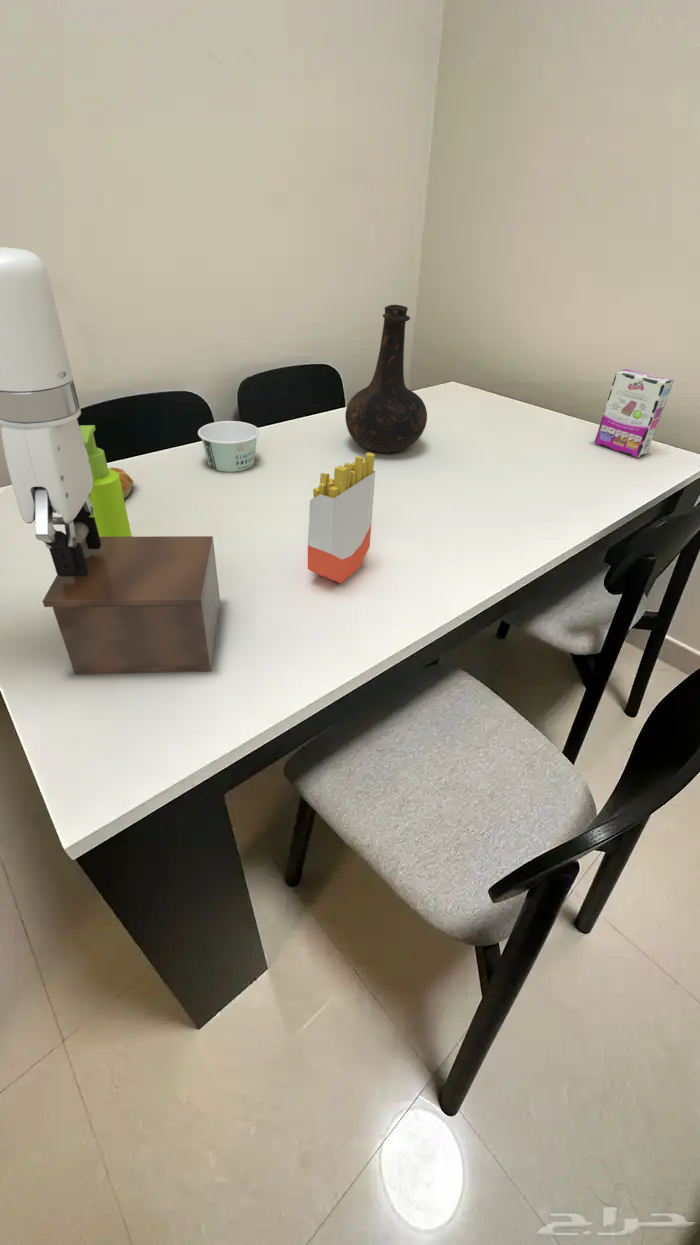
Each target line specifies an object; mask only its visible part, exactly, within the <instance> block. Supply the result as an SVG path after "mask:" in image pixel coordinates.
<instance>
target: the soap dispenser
mask: <svg viewBox="0 0 700 1245" xmlns="http://www.w3.org/2000/svg"><path fill="white" fill-rule="evenodd" d="M79 427H80V430H81V433H82V437H83V440H84V443H85V447H86V451H87V454H88V458H89V462H90V467H91V471H92V477H93V487H92V490H91V492H90V496H89V499H90V501H91V504H92V506H93V510H94V514H93V516H89V517H95V521H96V525H97V529H98V533H99V537H133V536H132V530H131V526H130V522H129V521H130V520H129V516H128V511H127V507H126V503H125V502H126V501H125V499H124V497H123V492H122V487H121V483H120V478H119V474H118V472H116V471H114V470H112V469H109V467H108V463H107V459H106V458H107V457H106V454H105V450H104V449H102V448H101V447H100V448H99V447H97V443H96V439H95V435H94V433H95V431H96V430H97V429H96V425H95V424H88V425H87V424H85V425H83V424H82V425H80V424H79Z"/></svg>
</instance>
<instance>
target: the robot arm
mask: <svg viewBox="0 0 700 1245" xmlns="http://www.w3.org/2000/svg"><path fill="white" fill-rule="evenodd" d="M61 326H62V325H61V322H60V318H59V313H58V310H57V305H56V301H55V297H54V292H53V288H52V284H51V280H50V276H49V273H48V270H47V267H46V265H45V264H44V262H43V259H41V258H40V257H39V255H37V254H35V253H34V252H32V251H29V250H27V249H22V248H16V247H6V246H5V247H4V246H0V425H1V428H0V432H1V433H0V434H1V439H2V446H3V452H4V453H3V454H4V457H5V458H4V459H5V462H6V467H7V469H8V475H9V478H10V482H11V487H12V489H13V494H14V496H15V500H16V503H17V507H18V510H19V514H20V516H21V518H22V521H23V522H24V523H25V524H32V523H34V536H35V539H36V540H38V541H41V542H43V543H44V544H45V547H46V548H47V549H49V553H50V556H51V559H52V562H53V566H54V569H55V572H56V576H57V575H58V576H61V577H75V576H86V575H87V574H88V568H87V565H86V561H85V557H84V554H83V550H82V546H81V543H76V536H75V529H74V524H75V523H78V522H81V523H84V524H85V525H86V526H87V527H88V529H89V533H88V535H87V537H86V541H87V545H88V549H99V548H100V547H101V541H100V537H99V533H98V529H97V525H96V521H95V517H89V516H93V514H94V510H93V506H92V504H91V501H90V499H89V496H90V492H91V490H92V487H93V477H92V471H91V467H90V462H89V458H88V454H87V451H86V447H85V443H84V440H83V437H82V433H81V430H80V427H79V426H80V424H79V420H78V418H79V417H80V416H81V415H82V410H81V407H80V403H79V398H78V393H77V390H76V387H75V382H74V377H73V372H72V369H71V364H70V361H69V356H68V351H67V348H66V343H65V339H64V335H63V330H62V327H61ZM53 513H54V514H56V513H57V514H58V515H61V516H54V514H53ZM55 525H57V526H58V525H59V526H64V530H65V533H64V532H63V531H62V530H57V529H55V527H54V526H55Z"/></svg>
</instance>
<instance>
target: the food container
mask: <svg viewBox="0 0 700 1245" xmlns="http://www.w3.org/2000/svg"><path fill="white" fill-rule="evenodd" d="M197 435H198V437H199V438H200V439H201V443H202V446H203V449H204V453H205V456H206V460H207V463H208V465H209V467H210V468H212V469H213V470H215V471H219V472H227V473H228V472H229V473H232V472H241V471H246V470H247V469H250V468H252V467H253V466H254V464H255V457H256V449H257V440H258V436H259V435H260V429H259V428H258V427H257V426H256V425H254V424H251V423H250V422H249V423H248V422H244V421H238V420H222V421H214V422H210V423H207V424H205V425H202V426H201V427H200V428H199V429H198V431H197Z"/></svg>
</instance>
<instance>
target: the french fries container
mask: <svg viewBox="0 0 700 1245" xmlns="http://www.w3.org/2000/svg"><path fill="white" fill-rule="evenodd" d="M375 458H376V454H375V453H372V452H370V451H368V452H366V453H365V454H364V457H363V456H361V455H357V456H355V459H354V461H353V462H351V463H350V462H346V463H344V465H343V466H342V465H337V466H336V467H334V473H333V478H332V477H330V473H326V472H321V473H320V478H319V479H320V480H319V485H318V486H316V487H315V488H313V489H312V494H313V495H312V496H313V498H311V499H310V500H309V511H308V512H309V513H308V514H309V516H308V532H307V536H308V537H307V569H308V570H309V571H311V572H312V573H314V574H317V575H318V576H321V577H323V578H326V579H328V580H331V581H333V582H335V583H338V584H343V582H345V581H346V580H347V579H348V578H349V577H351V576H352V575H353V574H354V573H355V572H357V571H358V570H359V569H360V568H361V566H362V564H363V562H364V559H365V558H366V555H367V553H368V551H369V549H370V546H371V534H372V522H373V510H374V509H373V508H374V496H375V494H374V493H375V483H376V482H375V481H376V471H375V470H374V468H375V467H374V466H375Z"/></svg>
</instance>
